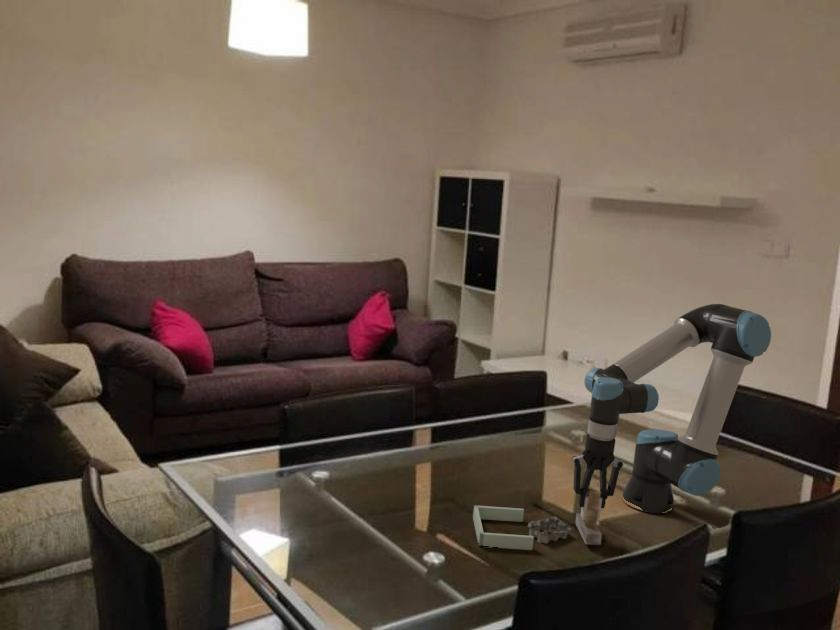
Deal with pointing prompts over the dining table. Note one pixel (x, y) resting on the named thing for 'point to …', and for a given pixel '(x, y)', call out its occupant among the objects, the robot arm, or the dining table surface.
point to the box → (500, 539)
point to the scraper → (590, 519)
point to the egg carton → (548, 524)
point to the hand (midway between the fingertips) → (589, 518)
